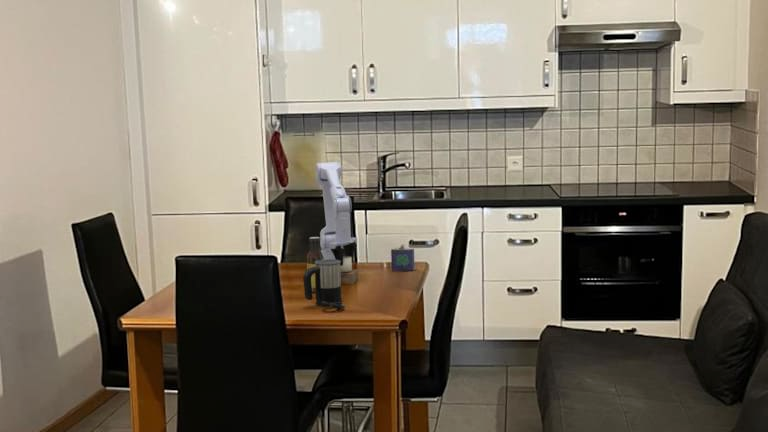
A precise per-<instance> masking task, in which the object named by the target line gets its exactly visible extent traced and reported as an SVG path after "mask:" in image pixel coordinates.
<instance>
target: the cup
mask: <svg viewBox="0 0 768 432" xmlns="http://www.w3.org/2000/svg"><path fill="white" fill-rule="evenodd" d="M352 263H353V258H352V259H351V256H345V255H343V265H342V266H340V271H341V272H348V271H352V270H353V264H352Z"/></svg>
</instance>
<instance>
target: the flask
mask: <svg viewBox="0 0 768 432" xmlns="http://www.w3.org/2000/svg"><path fill="white" fill-rule="evenodd" d="M390 256H391V257H390V258H391V259H390V260H391V271H392V272H395V273H396V272H397V273H398V272H412V271H413V272H414V271H415V269H416V268H415V249H414V248H412V247H411V248H409V247H408V248H405V244H400V247H393V248H391V250H390Z"/></svg>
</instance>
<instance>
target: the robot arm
mask: <svg viewBox="0 0 768 432" xmlns="http://www.w3.org/2000/svg"><path fill="white" fill-rule="evenodd" d="M314 167H315V180H316V184H317V185H320V186H321V189H322V195H323V196H322V197H323V208H324V217H325V227H323V228H322V229H321V230H320V232H319V237H320V250H321V252H322V255H323V257H324V260H326V259H335V260H340V261H341V263H340V266H342V265H343V256H351V259H352V260H353V257H354V253H355V251H356V249H357V247H358V246H357V245H358V244H357V243H358V237H352V235H351V234H352V233H351V231H352V230H351V212H352V206H353V205H352V200H351V197H350V196H349V195H347V192H346V190H345V187H344V185H342V184H341V178H342V177H341V176H342V174H343V173H342V172H343V170H342V169H343V167H342V163H341V162H340V161H333V162H332V161H331V162H316V164H315V166H314Z"/></svg>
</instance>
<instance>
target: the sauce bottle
mask: <svg viewBox="0 0 768 432" xmlns="http://www.w3.org/2000/svg"><path fill="white" fill-rule="evenodd" d="M308 242H309V252H308V253H307V255H306V262H307V263H306V270H307V269H308V268H311V267H316V264H315V261H318V260H324V257H323V255H322V252H321V250H322V249H321V245H320V236H311V237H309V238H308ZM311 284H312V293H316V287H315V273H314V274H313V275H312V277H311Z"/></svg>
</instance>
